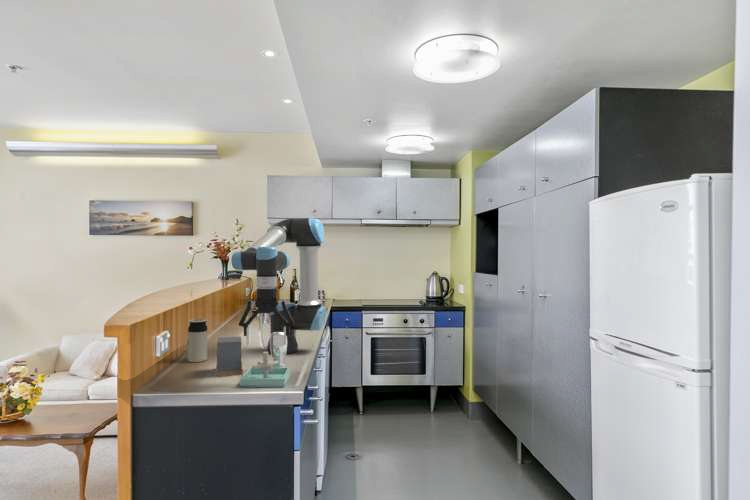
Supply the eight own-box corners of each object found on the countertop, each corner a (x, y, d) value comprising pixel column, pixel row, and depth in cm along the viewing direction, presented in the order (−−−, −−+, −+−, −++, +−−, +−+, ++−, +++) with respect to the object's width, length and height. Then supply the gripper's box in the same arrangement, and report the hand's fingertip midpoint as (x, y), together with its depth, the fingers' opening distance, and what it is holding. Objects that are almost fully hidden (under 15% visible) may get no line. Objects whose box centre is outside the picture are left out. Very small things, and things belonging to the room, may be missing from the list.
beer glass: (290, 368, 182) (290, 332, 182) (281, 372, 176) (281, 335, 176) (275, 367, 184) (275, 331, 185) (266, 371, 178) (266, 334, 178)
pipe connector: (284, 379, 163) (284, 352, 163) (259, 384, 157) (259, 356, 157) (271, 373, 171) (271, 347, 171) (247, 378, 164) (247, 352, 164)
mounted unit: (216, 368, 182) (216, 337, 182) (241, 366, 185) (242, 335, 185) (215, 376, 169) (215, 343, 169) (242, 374, 172) (242, 341, 172)
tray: (249, 375, 171) (249, 367, 171) (289, 375, 172) (289, 367, 172) (239, 387, 155) (239, 379, 156) (284, 387, 157) (284, 378, 157)
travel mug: (209, 358, 199) (210, 318, 199) (203, 362, 191) (203, 321, 191) (191, 358, 199) (192, 318, 199) (184, 362, 191) (185, 321, 191)
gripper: (230, 288, 160) (230, 347, 160) (299, 288, 161) (299, 346, 161) (235, 287, 167) (235, 342, 167) (301, 286, 169) (301, 341, 169)
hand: (266, 344), depth 164 cm, fingers open, 13 cm apart
